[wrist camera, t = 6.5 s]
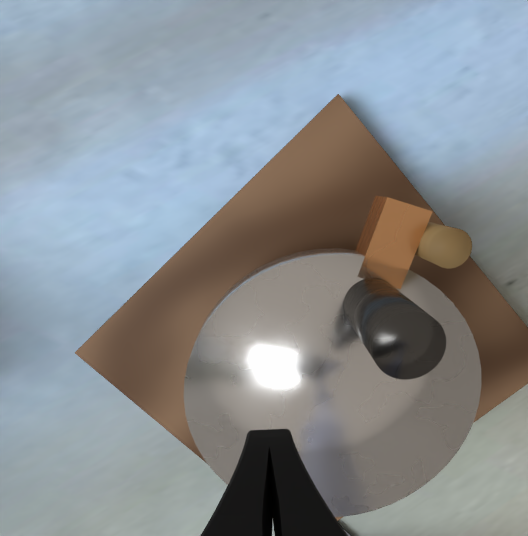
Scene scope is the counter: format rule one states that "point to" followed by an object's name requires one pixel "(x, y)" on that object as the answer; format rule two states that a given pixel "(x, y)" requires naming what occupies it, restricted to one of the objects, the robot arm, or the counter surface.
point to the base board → (286, 243)
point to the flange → (340, 366)
